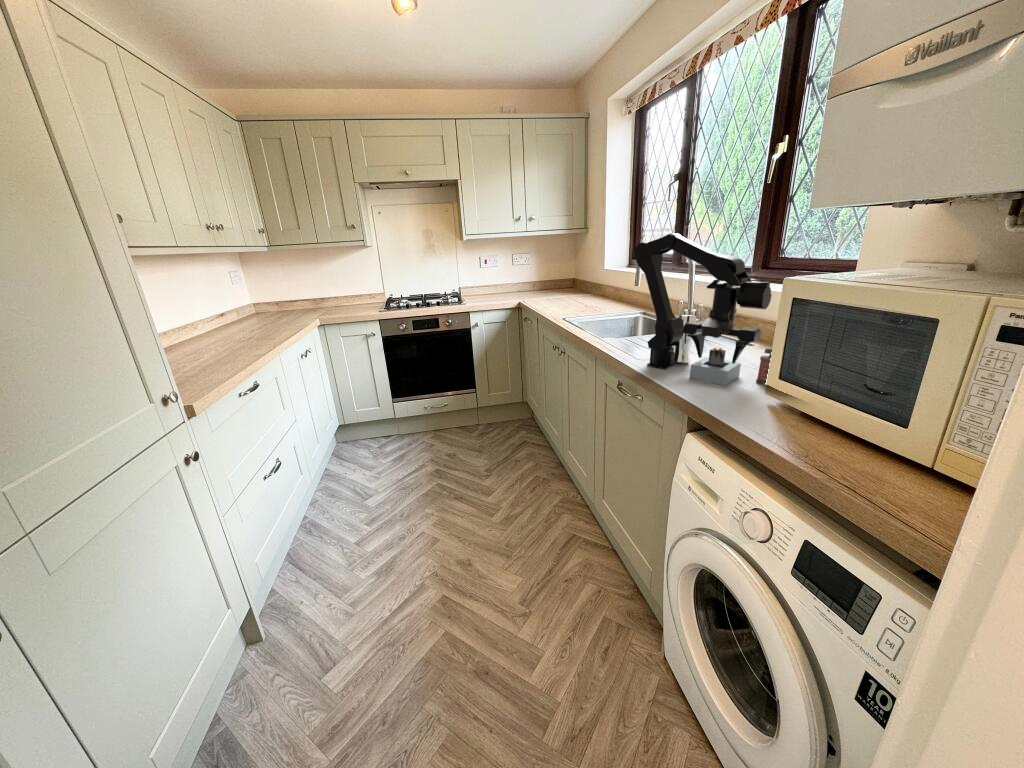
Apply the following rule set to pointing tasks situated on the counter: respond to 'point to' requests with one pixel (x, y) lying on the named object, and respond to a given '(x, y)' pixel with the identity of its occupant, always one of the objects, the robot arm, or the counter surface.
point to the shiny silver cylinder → (683, 342)
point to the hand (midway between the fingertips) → (716, 360)
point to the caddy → (715, 372)
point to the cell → (716, 357)
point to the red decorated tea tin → (764, 367)
